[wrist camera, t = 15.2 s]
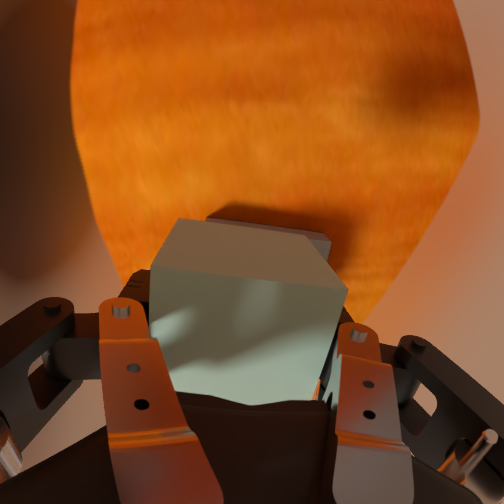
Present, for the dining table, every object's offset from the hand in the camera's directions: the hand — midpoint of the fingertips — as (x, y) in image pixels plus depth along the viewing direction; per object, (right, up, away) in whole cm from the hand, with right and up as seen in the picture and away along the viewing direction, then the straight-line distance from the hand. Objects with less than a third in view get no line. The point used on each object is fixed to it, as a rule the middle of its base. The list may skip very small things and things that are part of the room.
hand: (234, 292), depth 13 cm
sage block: (0, 0, +1) cm, 1 cm away
